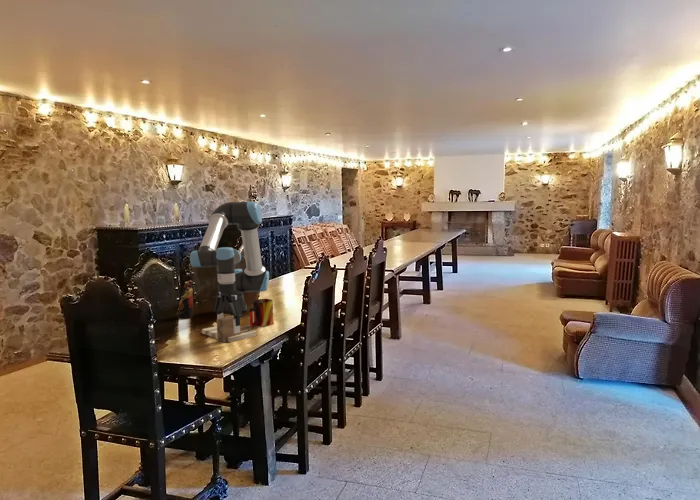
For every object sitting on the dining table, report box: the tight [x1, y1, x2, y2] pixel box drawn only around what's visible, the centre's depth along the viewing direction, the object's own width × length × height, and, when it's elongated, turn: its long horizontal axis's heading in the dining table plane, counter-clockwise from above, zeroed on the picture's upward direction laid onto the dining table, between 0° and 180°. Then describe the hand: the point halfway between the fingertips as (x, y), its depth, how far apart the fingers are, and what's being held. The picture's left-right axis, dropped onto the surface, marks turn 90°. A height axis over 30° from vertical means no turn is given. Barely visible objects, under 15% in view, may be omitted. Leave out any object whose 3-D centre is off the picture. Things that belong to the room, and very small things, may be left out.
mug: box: [249, 298, 275, 328], centre depth 243 cm, size 10×14×12 cm
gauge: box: [216, 314, 253, 343], centre depth 221 cm, size 5×16×10 cm, turn 136°
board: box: [201, 325, 258, 343], centre depth 228 cm, size 24×14×2 cm, turn 46°
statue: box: [177, 279, 195, 320], centre depth 264 cm, size 12×8×20 cm, turn 0°
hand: (228, 330), depth 219 cm, fingers open, 12 cm apart
